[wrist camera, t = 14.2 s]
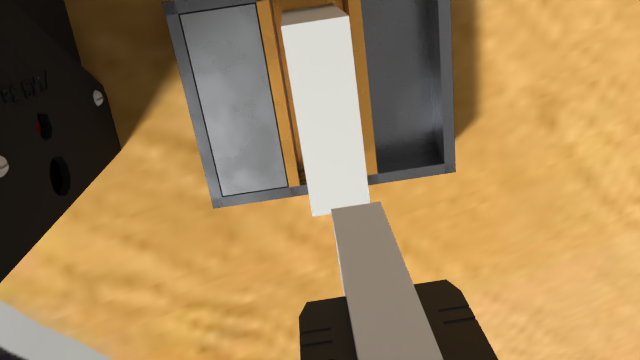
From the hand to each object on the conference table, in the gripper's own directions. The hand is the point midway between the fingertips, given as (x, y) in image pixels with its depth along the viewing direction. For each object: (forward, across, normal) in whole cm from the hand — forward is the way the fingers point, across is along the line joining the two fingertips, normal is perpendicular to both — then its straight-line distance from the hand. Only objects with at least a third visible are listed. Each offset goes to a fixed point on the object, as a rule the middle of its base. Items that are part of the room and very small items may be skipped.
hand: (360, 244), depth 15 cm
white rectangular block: (+23, 0, 0) cm, 23 cm away
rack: (+24, 0, 0) cm, 24 cm away
